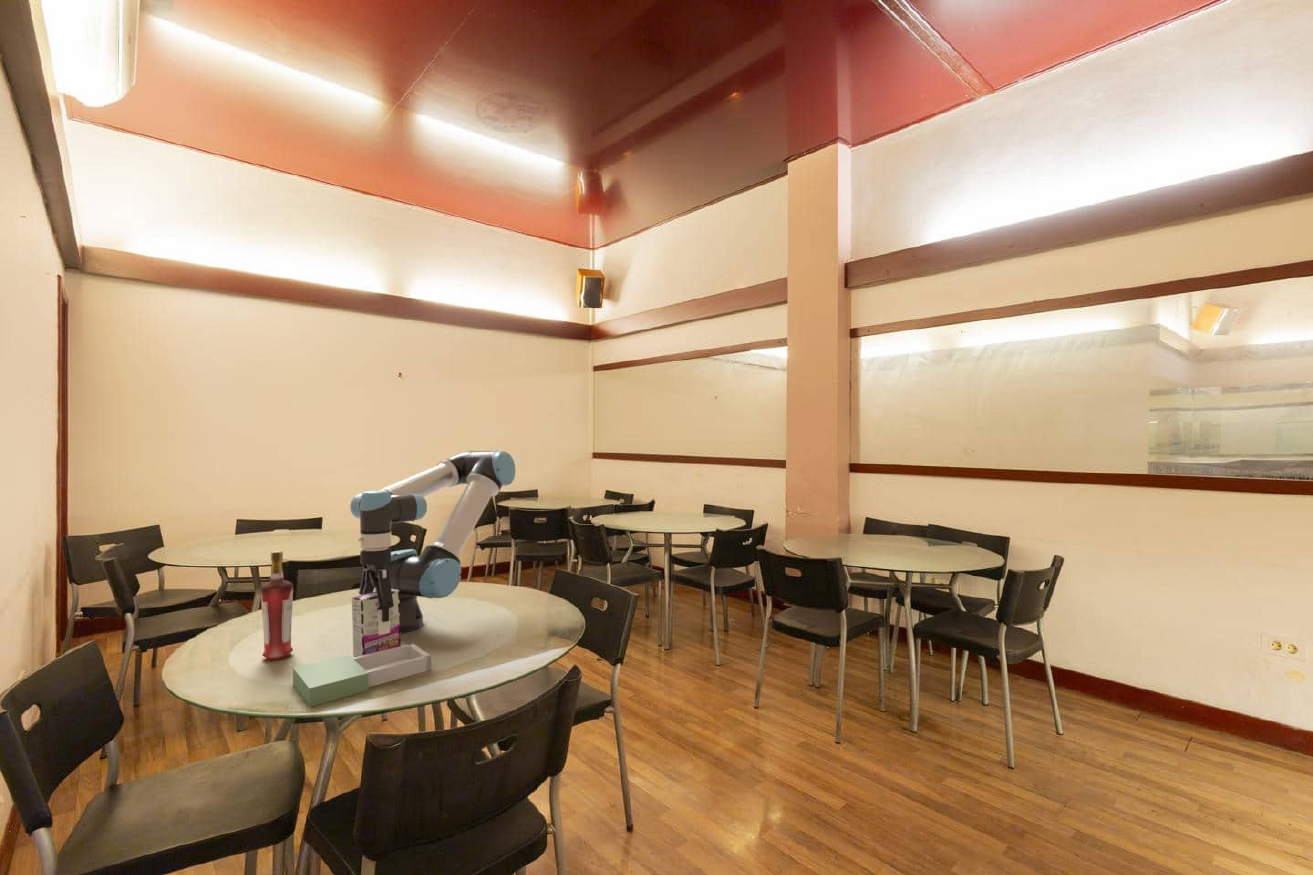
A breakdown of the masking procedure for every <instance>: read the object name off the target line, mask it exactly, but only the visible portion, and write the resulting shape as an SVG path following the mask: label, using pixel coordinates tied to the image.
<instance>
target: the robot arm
mask: <svg viewBox="0 0 1313 875" xmlns="http://www.w3.org/2000/svg"><path fill="white" fill-rule="evenodd" d="M515 477H516V464H515V460H514V458H513V457H512V455H511V454H510V453H509V452H507V451H504V450H503V451H502V450H494V451H493V450H467V451H464V452H461V453H458V454H454V455H452V456H450V457H447V458H444V459H443V460H440V461H439V462H437V464H436V465H435V466H434V467H432V468H429V469H427V470H424V471H422V472H420V473H417V474H415V475H413V476H410V477H408V478H405V479H403V480H401V481H398V482H395V483H393V484H391V485H388V486H387V487H384V488H382V489H379V490H367V491H363V492H361V493H359V494H356V495H355V496H354V497H353V498H352V499H351V502H350V512H351V514H352V516H354V517H355V518H357V519H360V521H359V524H360V525H359V526H360V529H359V530H360V531H359V533H360V537H358V539H357V540H358V542H360V548H361V550H360V552H359V553H360V555H359V561H360V564H361V565H362V573H361V574H362V575H361V579H360V585H359V591H358V593H359V596H360V595H364V594H368V593H372V592H376V594H377V598H378V602H379V606H380V607H378V608H377V610H378V634H379V635H381V634H386V633H390V608H391V607H393V606H394V604H393V597H392V591H391V588H392V589H397V590H399V600H400V634H401V633H407V632H411V631H414V630H416V629H418V628H420V627H421V626H422V625H423V624H424V615H423V613H422V610H421V608H420V603H419V602H418V599H417V598H418V597H422V598H427V599H443V598H447V597H448V596H450V595H451V594H452V593H454V591H455V590H456V589H457V587H458V586H459V584H460V582H461V579H462V576H461V574H462V566H461V563H462V561H461V558H460V554H461V553H462V551H463V549H464V547H465V545H466V543H467V541H468V540H469V538H470V536H471V534H472V532H473V531H474V529H475V527H476V525H477V523H478V522H479V520H480V518H481V517H482V514H483V512H484V511H485V508H486V507H487V505H488V504H489V501H490V500H491V498H492V497H494V496H497V495H499V493H500V491H501V490H502V489H501V488H503V486H505V487H506V486H510V485H511V484H512V483H513V482H514V481H515ZM459 485H466V487H465V488H464V490H463V492H462V494H461V496H460V497H459V499H458V501H457V502H456V503H455V506H454V508H453V509H452V511H451V512H450V514H449V516H448V518H447V519H446V521H445V523H444V525H443V526H442V528H441V529H440V531H439V532H438V535H437V536H436V538H435V539H434V542H433V543H431V544H427V545H426V546H424V548H423V551H422V552H421V553H420V555H418V553H417V550H416V549H414V548H410V549H401V550H395V551H392V549H391V548H390V547H391V546H392V525H394V524H399V523H408V522H415V521H418V520H421V519H423V517H425V515H426V514H427V511H428V507H427V506H428V503H427V501H426V498H425V497H426V496H428V495H431V494H433V493H436V492H438V491H440V490H442V489H444V488H454V487H455V486H459Z"/></svg>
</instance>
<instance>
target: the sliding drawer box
mask: <svg viewBox="0 0 1313 875" xmlns="http://www.w3.org/2000/svg"><path fill="white" fill-rule="evenodd" d="M429 671H432V655H430V654H429V653H427V652H426V651H424V650H423V649H421V648H420V647H419V646H417V645H416V644H415V643H409V644H405V645H401V646H400V647H396V648H392V649H387V650H383V651H379V652H375V653H371V654H367V655H362V656H358V657H354V656H353V657H351V656H350V655H349V654H345V655H341V656H337V657H331V658H327V659H323V660H319V661H314V662H311V663H306V664H302V665H297V666H294V667H292V685H293V686H294V687H295V689H296V691H298V693H299V695H300V696H301V697H302V698H303V700H304V701H305V702H306V704H307V705H308V707H310V708H311V707H314V706H316V705H321V704H325V703H329V702H332V701H335V700H338V699H342V698H343V699H344V698H345V697H351V696H353V695H356V694H360V693H364V692H368V691H369V690H370V688H371V687H374V686H379V685H381V684H385V683H389V682H392V681H397V680H399V679H403V678H407V677H412V676H414V675H418V674H421V673H425V672H429Z"/></svg>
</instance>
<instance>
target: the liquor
mask: <svg viewBox="0 0 1313 875" xmlns="http://www.w3.org/2000/svg"><path fill="white" fill-rule="evenodd" d="M283 553H284V551H283V550H275V551H271V552H270V561H271V572H270V581H269V582H267V583H265V584H263V585H262V586H261V587H260V599H261V614H262V628H263V629H262V630H263V645H264V646H263V647H264V648H263V649H264V651H263V653H262V657H264V658H265V659H267V660H268V661H278V660H282V659H285V658H287V657H288V656H289V655H290V654H292V652H293V650H294V649H293V647H292V616H293V602H294V600H293V599H294V597H293V596H294V584H293V582H291V581H289V580H285V579H284V571H283V570H284V569H283V559H284V554H283Z"/></svg>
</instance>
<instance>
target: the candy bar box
mask: <svg viewBox="0 0 1313 875" xmlns="http://www.w3.org/2000/svg"><path fill="white" fill-rule="evenodd" d="M391 591H392V597H393V604H394V606H393V607H391V608H390V633H386V634H381V635H379V634H378V610H377V608H378V607H380V606H379V602H378V598H377V594H376V592H375V591H373V592H372V593H368V594H364V595H360V594H359V595H357V596H353V597H351V609H352V612H351V613H352V616H351V617H352V619H351V620H352V648H353V649H352V650H353V652H352V654H353V658H354V657H358V656H362V655H367V654H371V653H375V652H379V651H383V650H387V649H392V648H396V647H400V646H402V644H401V633H400V600H399V590H397V589H392V588H391Z"/></svg>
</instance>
